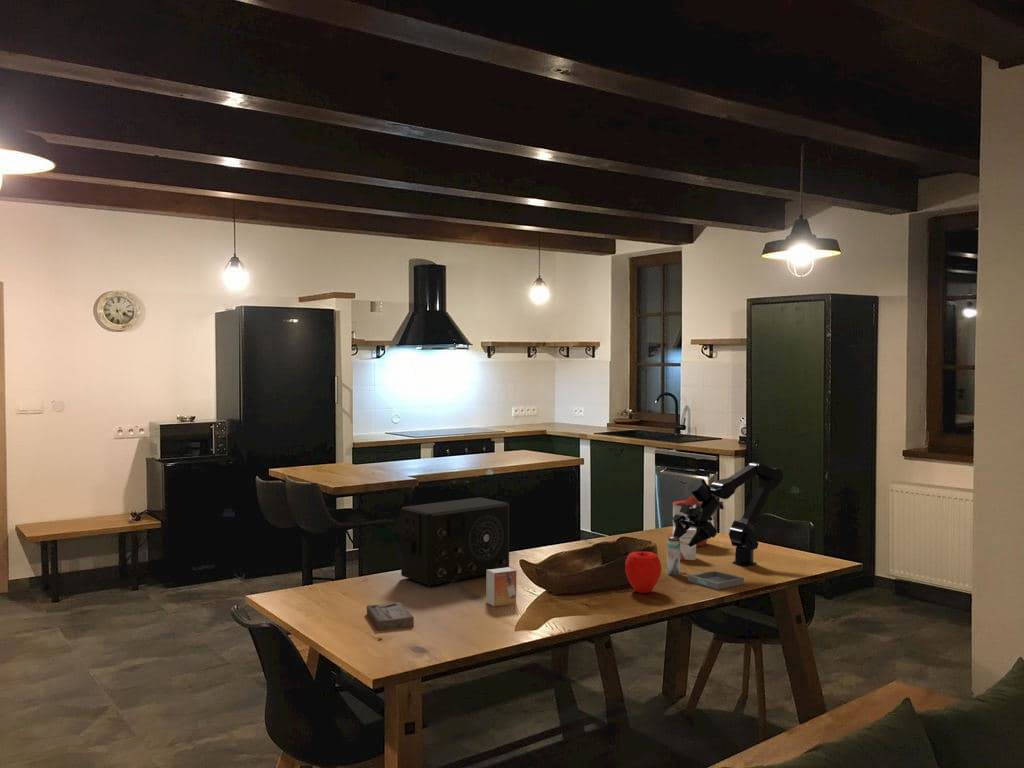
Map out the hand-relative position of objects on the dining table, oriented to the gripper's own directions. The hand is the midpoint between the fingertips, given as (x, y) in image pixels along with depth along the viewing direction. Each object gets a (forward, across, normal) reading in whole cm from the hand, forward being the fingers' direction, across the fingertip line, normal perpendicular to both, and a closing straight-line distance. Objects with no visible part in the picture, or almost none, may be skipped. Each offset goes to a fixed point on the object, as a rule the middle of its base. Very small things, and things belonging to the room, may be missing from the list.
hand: (681, 543), depth 309 cm
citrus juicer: (-18, -36, +33) cm, 52 cm away
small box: (+60, +5, -44) cm, 75 cm away
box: (+87, +5, -70) cm, 112 cm away
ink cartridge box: (-4, -17, +19) cm, 26 cm away
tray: (+6, +17, +9) cm, 20 cm away
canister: (+10, 0, +5) cm, 11 cm away
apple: (+27, +14, -11) cm, 32 cm away
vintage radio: (+60, -32, -44) cm, 81 cm away
